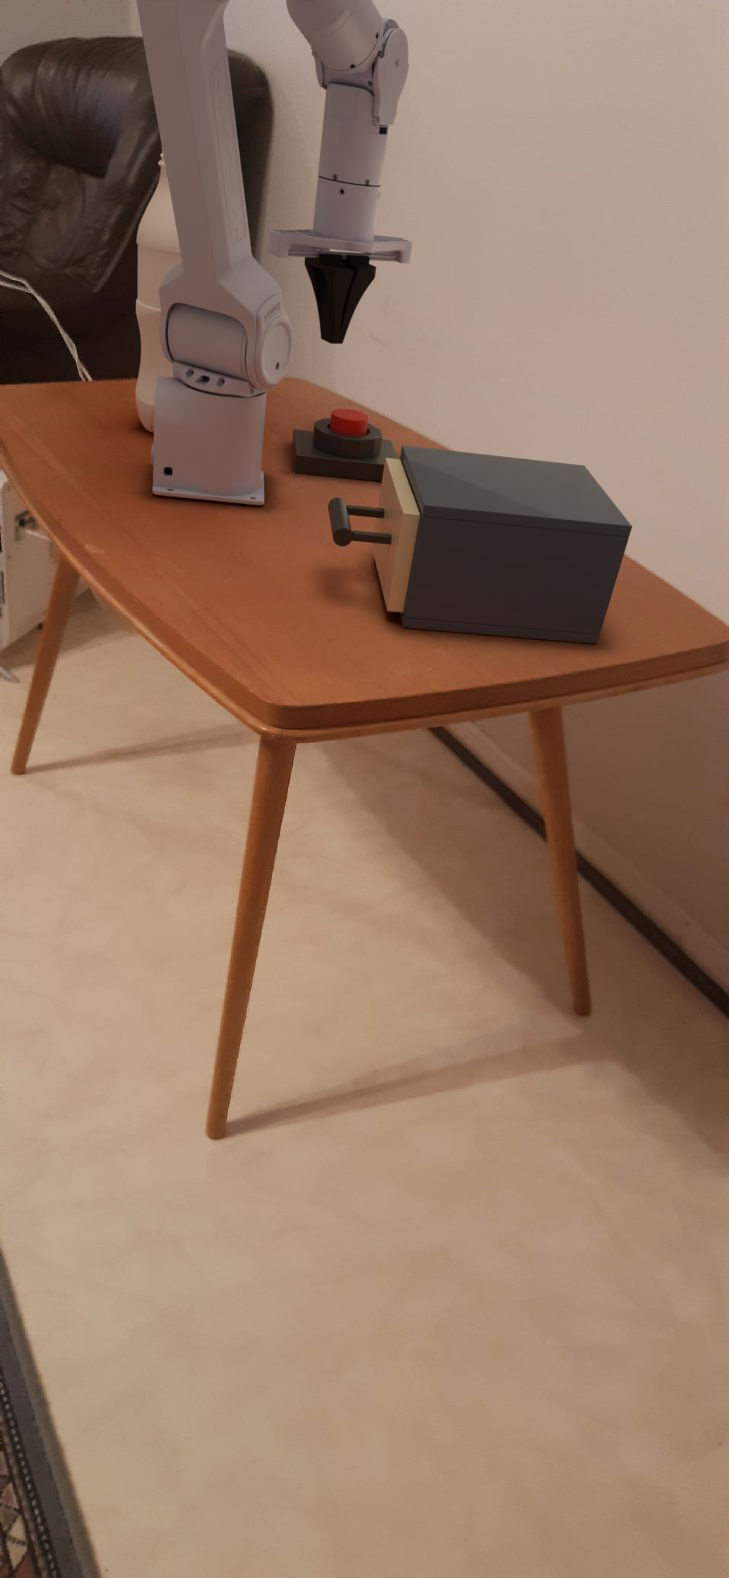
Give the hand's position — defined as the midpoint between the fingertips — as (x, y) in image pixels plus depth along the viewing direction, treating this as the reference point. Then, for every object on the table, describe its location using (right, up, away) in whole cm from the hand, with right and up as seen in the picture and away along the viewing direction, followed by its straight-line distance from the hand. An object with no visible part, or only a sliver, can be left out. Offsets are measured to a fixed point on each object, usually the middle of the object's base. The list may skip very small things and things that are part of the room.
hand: (331, 341), depth 100 cm
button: (+2, -9, -1) cm, 9 cm away
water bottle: (-16, -8, +3) cm, 18 cm away
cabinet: (+13, -29, -20) cm, 38 cm away
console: (+1, -12, +1) cm, 12 cm away
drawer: (+9, -28, -22) cm, 36 cm away
